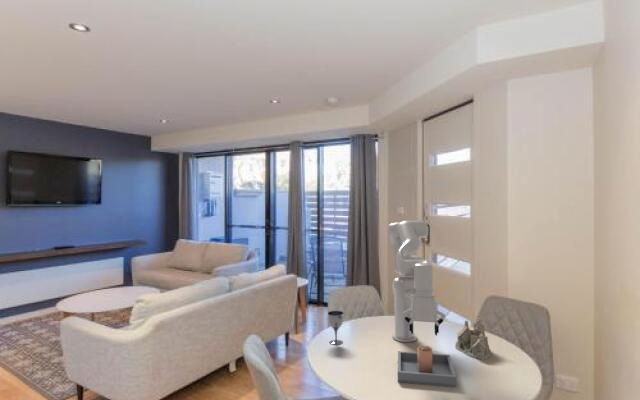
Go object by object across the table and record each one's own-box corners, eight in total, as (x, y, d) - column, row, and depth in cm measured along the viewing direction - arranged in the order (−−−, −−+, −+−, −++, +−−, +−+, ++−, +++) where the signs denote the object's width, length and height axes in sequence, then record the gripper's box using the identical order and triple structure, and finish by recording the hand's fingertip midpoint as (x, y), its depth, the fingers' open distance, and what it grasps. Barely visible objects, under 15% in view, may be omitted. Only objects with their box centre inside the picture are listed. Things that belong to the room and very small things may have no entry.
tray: (398, 360, 164) (398, 351, 164) (449, 363, 159) (449, 354, 159) (397, 382, 144) (397, 372, 144) (456, 387, 139) (456, 376, 139)
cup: (417, 366, 155) (416, 345, 155) (431, 367, 154) (431, 346, 154) (417, 373, 149) (417, 351, 149) (433, 374, 148) (432, 352, 148)
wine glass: (342, 346, 180) (342, 315, 180) (327, 345, 182) (326, 315, 182) (344, 339, 188) (344, 310, 188) (329, 339, 190) (329, 310, 190)
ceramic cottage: (457, 341, 183) (458, 312, 182) (493, 349, 174) (494, 319, 173) (450, 354, 170) (450, 323, 169) (488, 364, 161) (488, 331, 160)
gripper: (402, 294, 150) (402, 335, 150) (446, 296, 146) (446, 338, 146) (402, 289, 157) (402, 328, 157) (444, 291, 153) (444, 331, 154)
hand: (423, 333), depth 152 cm, fingers open, 9 cm apart
